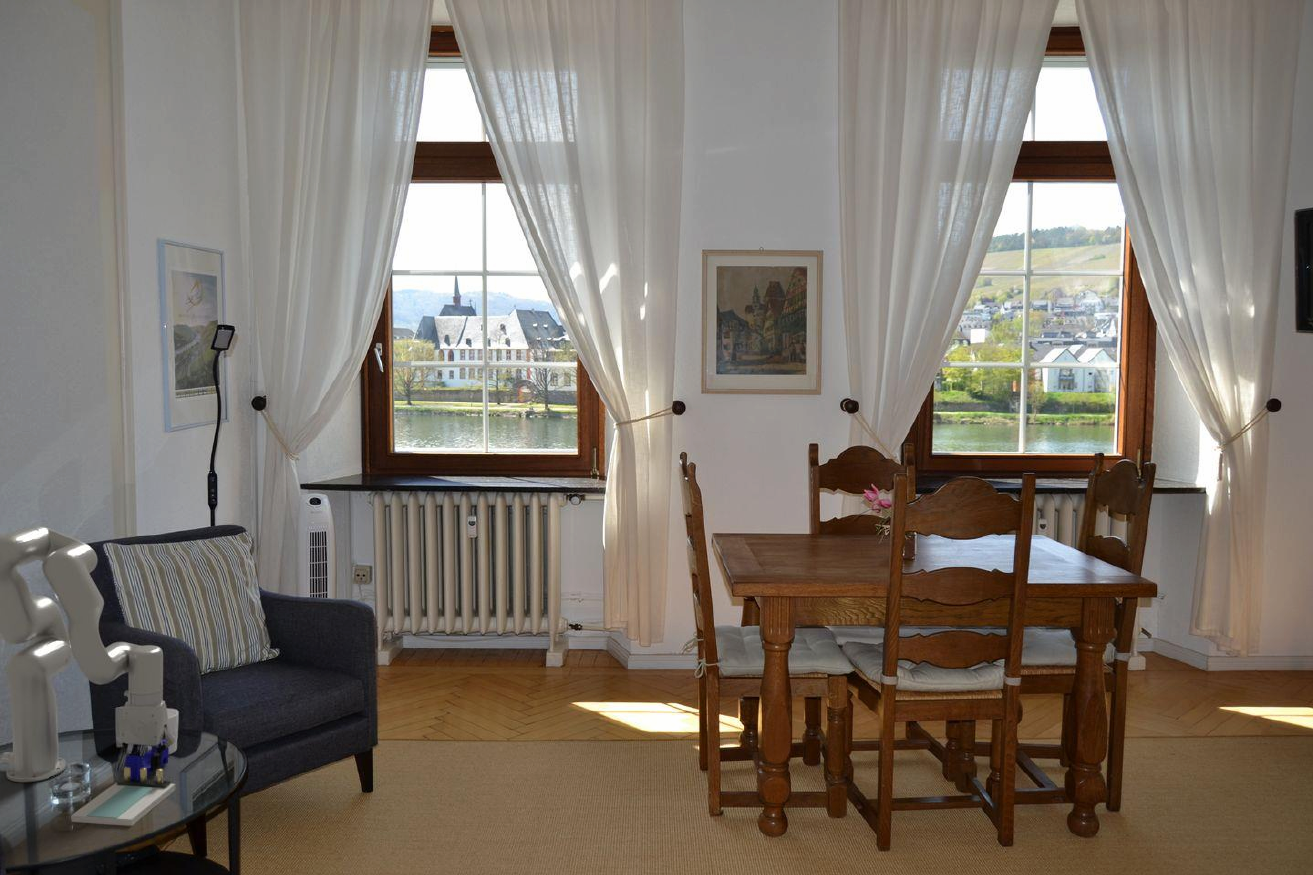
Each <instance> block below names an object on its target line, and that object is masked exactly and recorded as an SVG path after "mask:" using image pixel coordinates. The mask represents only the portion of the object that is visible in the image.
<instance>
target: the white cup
mask: <svg viewBox="0 0 1313 875" xmlns="http://www.w3.org/2000/svg"><path fill="white" fill-rule="evenodd" d="M167 714H168V725H169V733H170V734H171V736H172V737H173V739H174V740H175V743H173V744H172V745H171V746H169V747H168V756H169V755H172V754H173V753H175V752H176V751H177V749H178V735H179V732H178V731H179V711H178V710H177V709H175V708H167ZM151 749H152V747H151V746H147V752H148V751H149V750H151Z"/></svg>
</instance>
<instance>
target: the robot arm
mask: <svg viewBox="0 0 1313 875" xmlns="http://www.w3.org/2000/svg"><path fill="white" fill-rule="evenodd" d="M35 561H36V562H37V561H41V562H42V565H41V569H42V572H43V575H44V578H45V579H46V581H47V583H48V584H49V586H50V588H51V590H52V592H53V593H54V595H55V597H56V599H57V601H58V603H59V604H60V606H61V608H62V610H63V613H65V615H66V618H67V622H68V623H67V624H68V625H66V622H65V620H64V617H63V613H62V611H61V609H60V607H59V605H58V604H57V603H56V602H55V601H54V600H53V599H51V598H50V597H48V596H45V595H38V594H37V595H31V593H30V590H29V586H28V583H27V582H26V579H25V578H24V577H23V575H21V574H20V573H19V571H18V569H20V567H23V566H26V565H28V564H31V563H33V562H35ZM97 565H98V555H97V553H96V552H95V550H94V549H93V548H92V547H91V546H90V545H89V544H87V543H85V542H83V541H82V540H79V539H76V538H74V537H71V536H69V535H66V534H65V533H64V534H63V533H61V532H58V531H56V530H54V529H51V528H50V527H49V528H48V527H47V526H41V525H29V526H27V527H23V528H21V529H17V530H14V531H11V532H8V533H5V534H2V535H1V536H0V637H1V638H2V640H3V641H4V642H5V643H7V644H9V645H10V644H11V645H20V644H24V643H26V642H29V643H30V644H29V645H27V646H25V647H24V648H22V649H20V650H19V651H17V652H16V653H14V654H13V655H12V657H11V658H10V659H9V660H8V662H7V664H6V665H5V666H6V667H5V679H6V682H7V686H8V690H9V696H10V697H9V698H10V708H11V709H10V710H11V729H12V732H11V733H12V752H9V751H8V752H7V751H6V752H5V751H4V752H3V753H2V755H1V758H0V764H1V765H9V768H8V769H7V771H6V778H7V779H8V780H9V781H12V782H17V783H32V782H33V783H34V782H40V781H45V780H46V779H47V780H48V779H50V778H49V777H50V776H53V775H55V774H57V773H59V772H61V771H62V770H64V769H65V770H66V768H67V761H66V760H65V759H63V758H62V757H60V754H59V730H58V703H57V695H56V691H55V688H54V686H53V684H52V678H53V677H55V676H56V675H58V674H60V673H62V672H63V671H64V670H65V669H67V668H68V667H69V666H70V664H71V663H72V661H73V659H74V660H75V662H76V663H77V666H78V667H79V669H80V670H81V672H82V673H83V675H84V676H85V677H86V678H87V679H88V681H90V682H91V683H93V684H96V685H106V684H109V683H111V682H113V681H115V680H116V679H117V678H118V677H120V676H121V675H124V674H126V673H128V690H125V691H124V693H123V696H124V697H127V701H126V702H125V704H124V706H123V707H124V710H123V715H122V722H121V732H120V733H119V734H118V736H117V737H116V736H115V740H116V739H117V740H118V741H119V742H120V743H122V745H123V748H125V750H126V753H127V754H128V756H129V755H135V756H141V750H140V748H139V746H146V747H148V746H151V747H152V751H153V755H152V756H151V771H152V772H153V773H154V772H156V770H157V769H158V768H159V769H160V766H161V763H162V752H163V751H164V750H165V749H166V748H167V747H169V746H171V745H172V744H173V743H175V740H174V739H173V737H172V736H171V734H170V733H169V725H168V714H167V709H168V708H167V704H166V700H163V699H164V698H163V697H164V696H163V695H164V687H163V686H164V679H163V678H164V653H163V652H164V651H163V649H162V648H161V647H159V646H157V645H152V644H151V645H150V644H148V645H138V644H134V643H130V642H125V641H117V642H113V643H112V644H110V645H108V646H106V647H105V646H104V644H103V641H102V639H101V635H100V630H99V625H100V624H99V623H100V618H101V615H102V612H103V609H104V605H105V601H104V598H103V596H102V594H101V593H100V591H99V589H98V587H97V585H96V584H95V582H94V580H93V578H92V577H91V576H92V575H91V574H90V573H92V572H93V571H94V570H95V568H96V567H97ZM164 739H165V741H166V743H164V744H163V743H162V740H164ZM65 767H66V768H65ZM65 770H64V771H65ZM61 773H62V772H61ZM53 777H54V776H53Z"/></svg>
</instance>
